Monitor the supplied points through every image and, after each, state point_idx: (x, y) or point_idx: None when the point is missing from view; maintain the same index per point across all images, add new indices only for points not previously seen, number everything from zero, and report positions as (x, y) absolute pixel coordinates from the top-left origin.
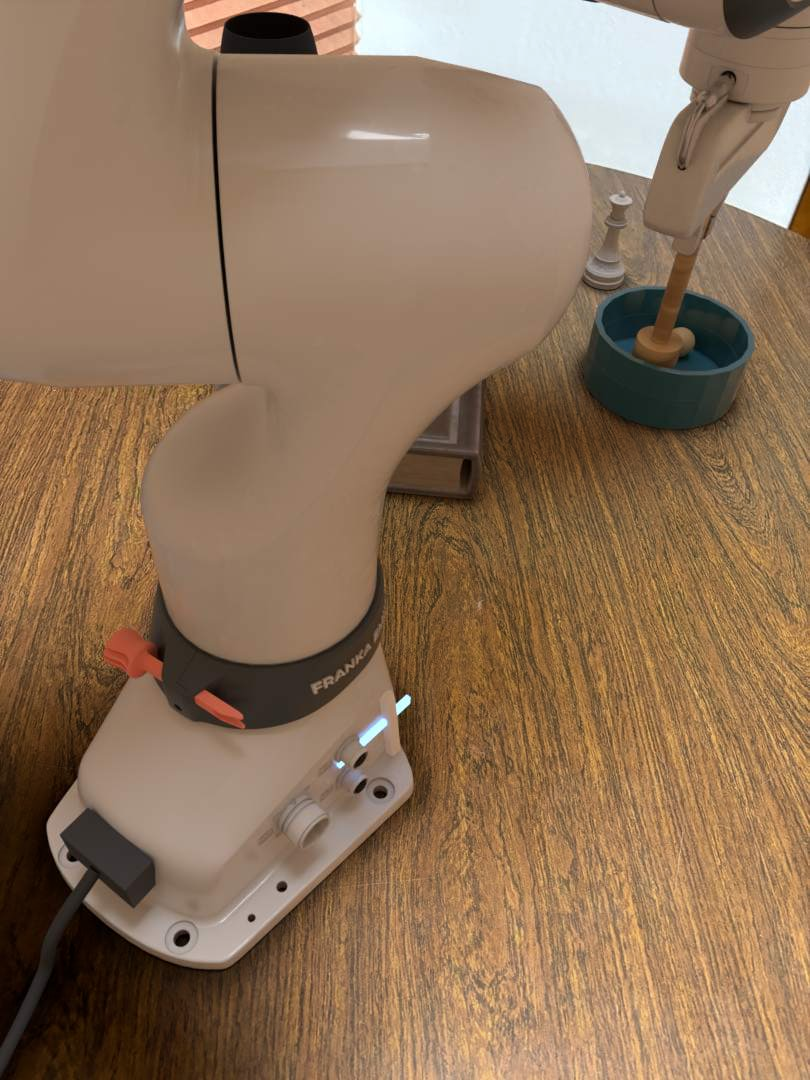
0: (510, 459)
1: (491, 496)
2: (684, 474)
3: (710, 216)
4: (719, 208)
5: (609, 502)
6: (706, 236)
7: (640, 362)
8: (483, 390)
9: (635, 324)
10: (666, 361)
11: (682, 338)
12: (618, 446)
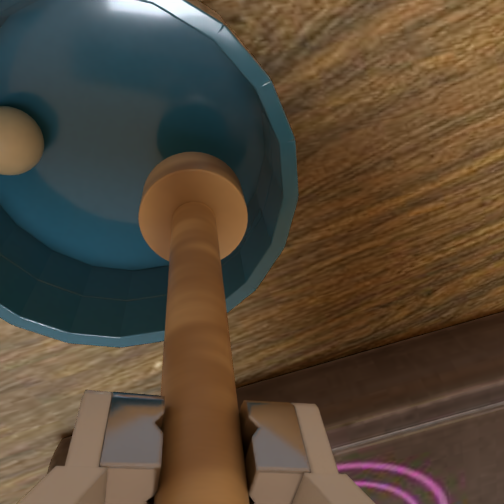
0: (422, 294)
1: (499, 291)
2: (389, 39)
3: (118, 480)
4: (80, 500)
5: (487, 149)
6: (159, 401)
7: (284, 232)
8: (389, 394)
9: (8, 240)
10: (236, 180)
11: (22, 145)
12: (347, 167)
